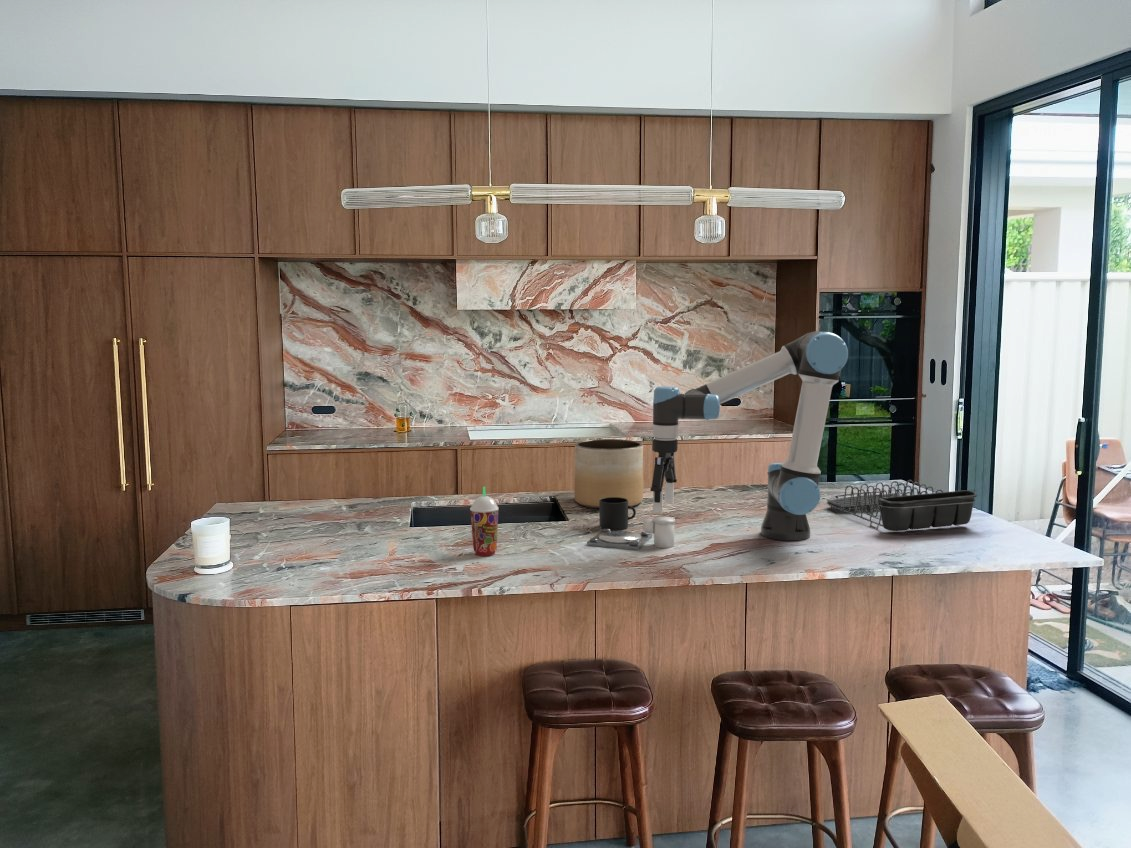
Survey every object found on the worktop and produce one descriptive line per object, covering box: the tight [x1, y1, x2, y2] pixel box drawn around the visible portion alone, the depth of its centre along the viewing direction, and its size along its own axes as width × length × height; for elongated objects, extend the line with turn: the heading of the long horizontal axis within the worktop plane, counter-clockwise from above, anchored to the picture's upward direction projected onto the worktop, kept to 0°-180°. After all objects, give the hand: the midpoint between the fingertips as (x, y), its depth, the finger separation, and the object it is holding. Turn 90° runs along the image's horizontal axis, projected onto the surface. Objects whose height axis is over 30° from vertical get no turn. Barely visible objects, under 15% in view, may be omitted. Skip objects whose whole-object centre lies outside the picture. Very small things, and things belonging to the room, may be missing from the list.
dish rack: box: [826, 479, 978, 532], centre depth 303 cm, size 34×44×12 cm
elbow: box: [642, 516, 676, 549], centre depth 270 cm, size 9×7×8 cm
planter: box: [573, 438, 644, 510], centre depth 328 cm, size 25×25×22 cm
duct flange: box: [586, 528, 653, 551], centre depth 275 cm, size 16×16×2 cm
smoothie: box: [469, 486, 500, 557], centre depth 260 cm, size 8×8×20 cm
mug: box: [598, 497, 637, 531], centre depth 292 cm, size 9×12×9 cm
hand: (663, 508), depth 268 cm, fingers open, 13 cm apart
